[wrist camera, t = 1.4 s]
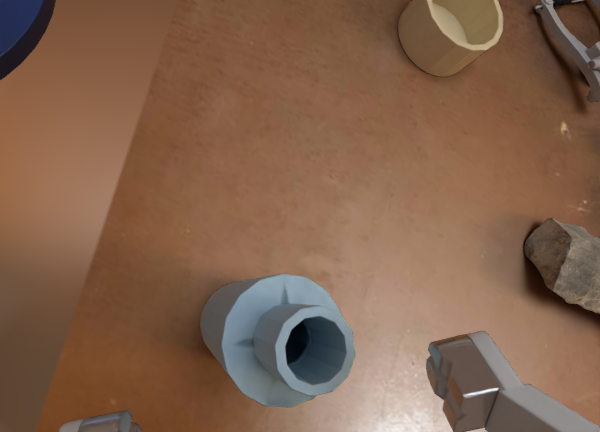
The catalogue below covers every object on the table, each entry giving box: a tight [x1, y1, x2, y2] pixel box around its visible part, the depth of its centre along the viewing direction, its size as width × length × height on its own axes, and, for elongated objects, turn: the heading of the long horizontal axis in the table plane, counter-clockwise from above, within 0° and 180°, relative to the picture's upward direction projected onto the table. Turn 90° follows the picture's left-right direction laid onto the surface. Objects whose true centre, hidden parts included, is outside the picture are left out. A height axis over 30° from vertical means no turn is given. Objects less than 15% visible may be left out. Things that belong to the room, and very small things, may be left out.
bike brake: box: [534, 0, 600, 102], centre depth 48 cm, size 14×7×20 cm
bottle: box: [200, 274, 356, 408], centre depth 23 cm, size 6×6×17 cm
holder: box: [398, 0, 503, 77], centre depth 40 cm, size 9×9×5 cm
